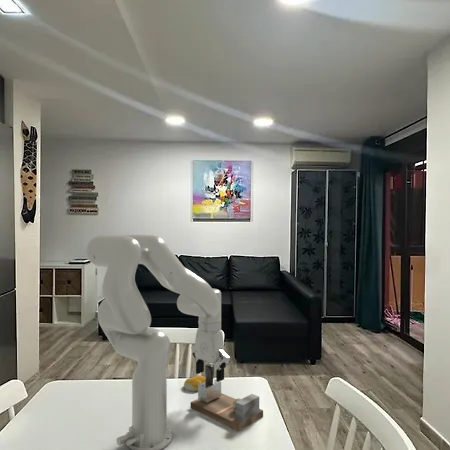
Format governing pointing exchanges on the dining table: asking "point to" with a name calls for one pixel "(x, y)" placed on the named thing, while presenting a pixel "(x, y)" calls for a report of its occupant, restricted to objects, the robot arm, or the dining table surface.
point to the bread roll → (194, 383)
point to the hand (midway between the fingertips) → (209, 376)
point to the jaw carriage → (209, 386)
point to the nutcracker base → (231, 410)
